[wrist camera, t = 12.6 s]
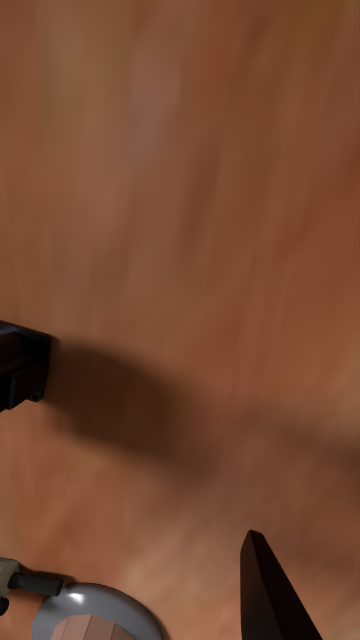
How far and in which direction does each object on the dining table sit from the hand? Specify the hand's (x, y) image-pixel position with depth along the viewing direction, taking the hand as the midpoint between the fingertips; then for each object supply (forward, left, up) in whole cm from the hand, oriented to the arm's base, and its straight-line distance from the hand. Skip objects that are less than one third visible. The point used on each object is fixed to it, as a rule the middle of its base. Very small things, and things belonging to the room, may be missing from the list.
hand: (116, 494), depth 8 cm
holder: (0, -34, -13) cm, 36 cm away
